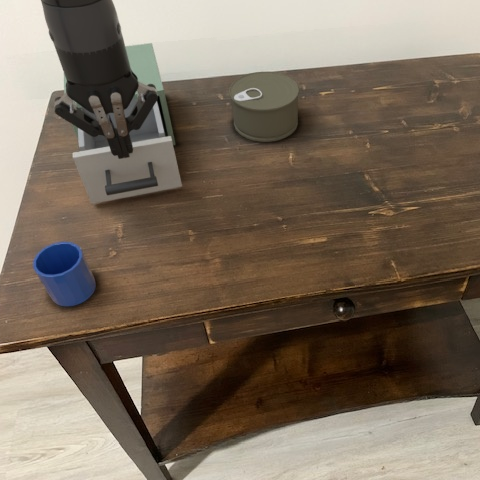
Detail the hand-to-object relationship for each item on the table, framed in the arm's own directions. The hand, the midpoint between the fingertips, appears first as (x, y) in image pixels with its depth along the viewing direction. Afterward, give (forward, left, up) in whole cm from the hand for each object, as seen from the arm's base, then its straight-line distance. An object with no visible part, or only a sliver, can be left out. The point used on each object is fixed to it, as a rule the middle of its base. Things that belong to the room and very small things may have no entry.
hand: (123, 154), depth 73 cm
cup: (-10, -13, -10) cm, 19 cm away
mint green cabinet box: (0, +22, -10) cm, 24 cm away
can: (+24, +16, -11) cm, 31 cm away
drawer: (0, +7, -9) cm, 12 cm away
